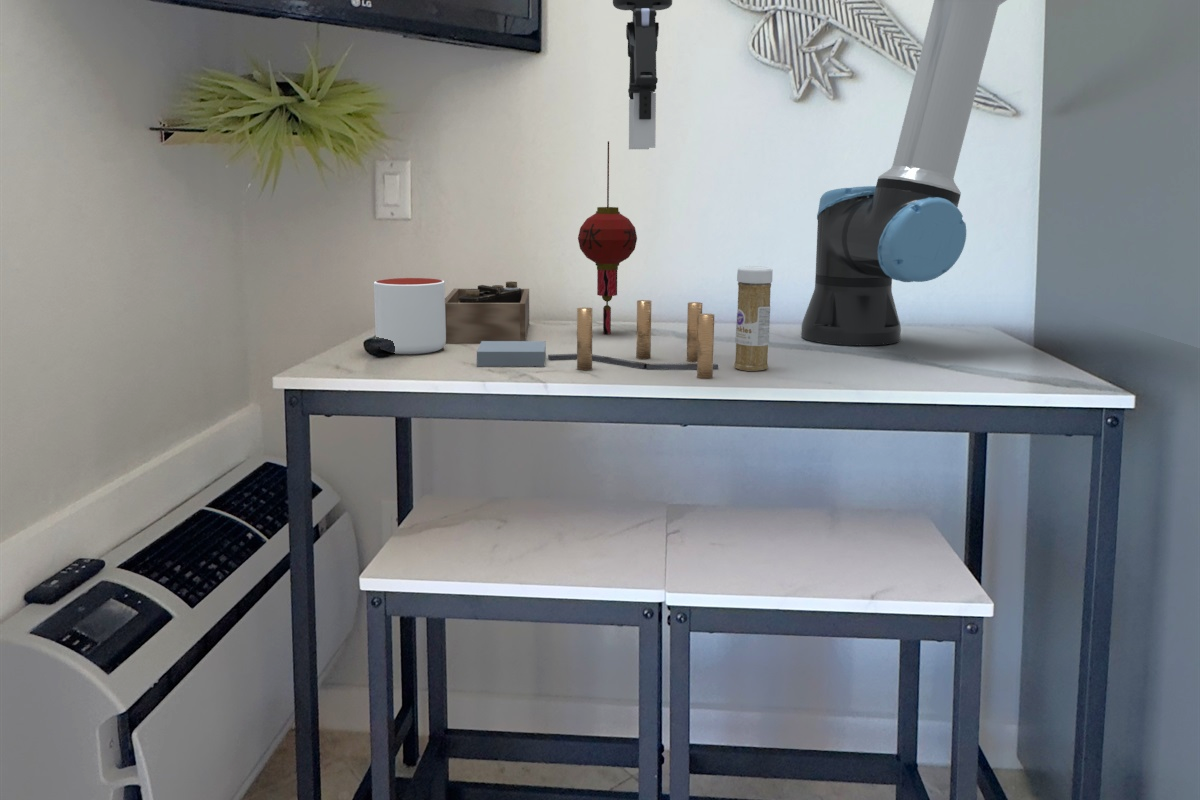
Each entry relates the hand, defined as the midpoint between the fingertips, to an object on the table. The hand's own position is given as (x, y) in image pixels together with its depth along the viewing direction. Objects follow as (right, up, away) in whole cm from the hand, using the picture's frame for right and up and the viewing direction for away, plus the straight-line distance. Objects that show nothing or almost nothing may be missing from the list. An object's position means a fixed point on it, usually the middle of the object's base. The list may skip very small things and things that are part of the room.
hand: (641, 148), depth 141 cm
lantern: (-4, -22, +33) cm, 40 cm away
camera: (-24, -22, +32) cm, 46 cm away
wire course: (-1, -28, +4) cm, 28 cm away
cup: (-33, -25, +17) cm, 45 cm away
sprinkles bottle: (+15, -29, +4) cm, 32 cm away
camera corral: (-23, -22, +33) cm, 46 cm away
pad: (-17, -27, +9) cm, 33 cm away
